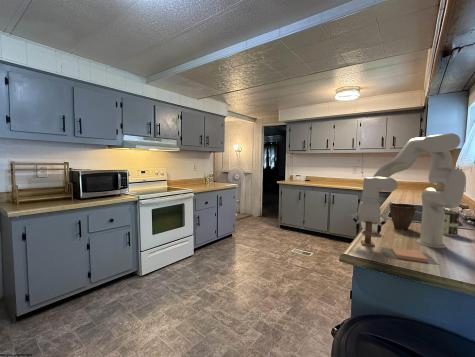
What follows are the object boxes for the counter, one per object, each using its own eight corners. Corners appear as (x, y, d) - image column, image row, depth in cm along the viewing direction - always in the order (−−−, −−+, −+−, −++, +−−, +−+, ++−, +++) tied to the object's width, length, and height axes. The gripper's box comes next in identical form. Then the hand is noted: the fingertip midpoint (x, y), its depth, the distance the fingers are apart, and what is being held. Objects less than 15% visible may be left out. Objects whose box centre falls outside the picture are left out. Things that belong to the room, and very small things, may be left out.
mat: (380, 247, 123) (380, 247, 123) (427, 254, 116) (427, 253, 116) (386, 258, 110) (386, 257, 110) (439, 265, 103) (439, 265, 103)
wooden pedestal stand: (360, 242, 131) (362, 217, 130) (372, 244, 129) (374, 219, 128) (361, 246, 126) (363, 220, 125) (374, 247, 123) (376, 221, 122)
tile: (391, 247, 119) (396, 254, 110) (419, 251, 115) (427, 258, 105) (390, 250, 119) (395, 257, 110) (419, 254, 115) (427, 262, 105)
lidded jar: (371, 235, 145) (372, 220, 144) (356, 230, 154) (357, 216, 154) (383, 233, 149) (384, 218, 148) (368, 228, 159) (368, 214, 158)
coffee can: (456, 233, 152) (458, 211, 151) (458, 237, 144) (460, 214, 143) (435, 230, 159) (437, 209, 157) (436, 233, 150) (438, 211, 149)
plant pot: (382, 226, 164) (384, 204, 163) (396, 224, 170) (397, 202, 169) (405, 232, 151) (407, 208, 149) (419, 230, 157) (421, 206, 156)
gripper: (387, 200, 126) (385, 231, 127) (351, 198, 132) (349, 227, 134) (390, 202, 119) (388, 236, 120) (352, 200, 125) (350, 231, 127)
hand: (368, 231), depth 127 cm, fingers open, 9 cm apart
